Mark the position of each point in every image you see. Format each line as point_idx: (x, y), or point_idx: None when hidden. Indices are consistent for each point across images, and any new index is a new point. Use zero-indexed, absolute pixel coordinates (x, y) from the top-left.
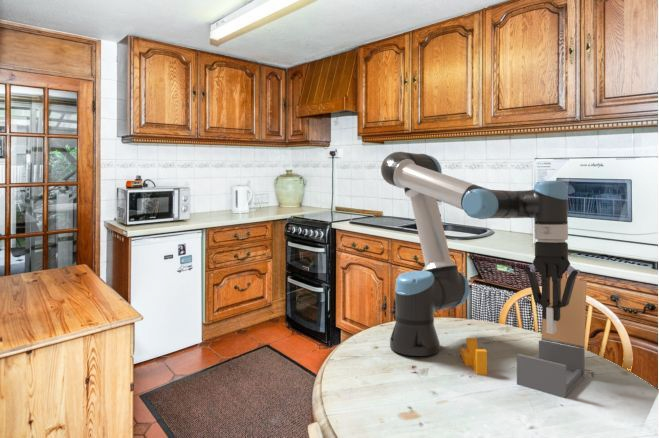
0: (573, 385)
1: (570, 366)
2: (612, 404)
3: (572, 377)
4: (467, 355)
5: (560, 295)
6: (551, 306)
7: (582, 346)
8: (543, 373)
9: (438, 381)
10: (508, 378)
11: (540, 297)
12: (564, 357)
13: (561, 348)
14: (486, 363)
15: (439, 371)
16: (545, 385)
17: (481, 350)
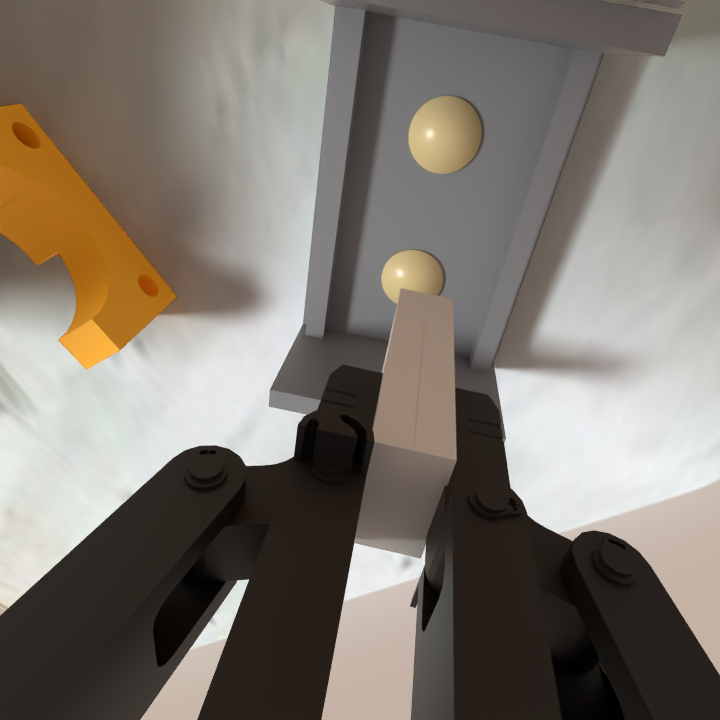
0: (527, 265)
1: (533, 40)
2: (665, 337)
3: (529, 237)
4: (15, 227)
5: (546, 688)
6: (394, 461)
7: (671, 6)
8: None
9: (94, 434)
10: (259, 287)
11: (203, 535)
12: (501, 32)
13: (484, 25)
14: (149, 321)
15: (36, 357)
16: None
17: (92, 348)
